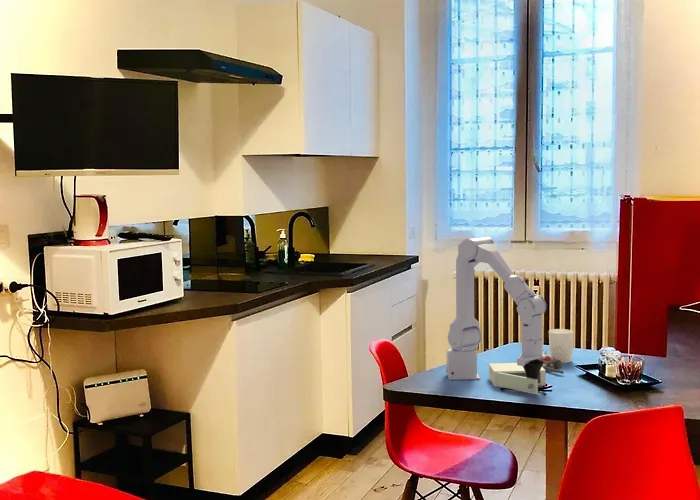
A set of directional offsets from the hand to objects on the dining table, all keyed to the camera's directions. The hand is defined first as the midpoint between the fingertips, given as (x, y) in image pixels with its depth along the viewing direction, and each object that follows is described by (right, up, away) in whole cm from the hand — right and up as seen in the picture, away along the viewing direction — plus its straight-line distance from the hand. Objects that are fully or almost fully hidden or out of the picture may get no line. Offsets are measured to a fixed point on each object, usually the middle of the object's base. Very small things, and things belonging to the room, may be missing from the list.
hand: (532, 385), depth 216 cm
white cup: (+18, +1, +37) cm, 41 cm away
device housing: (-2, -1, +12) cm, 12 cm away
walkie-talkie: (+11, 0, +27) cm, 30 cm away
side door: (-4, -2, +2) cm, 5 cm away
